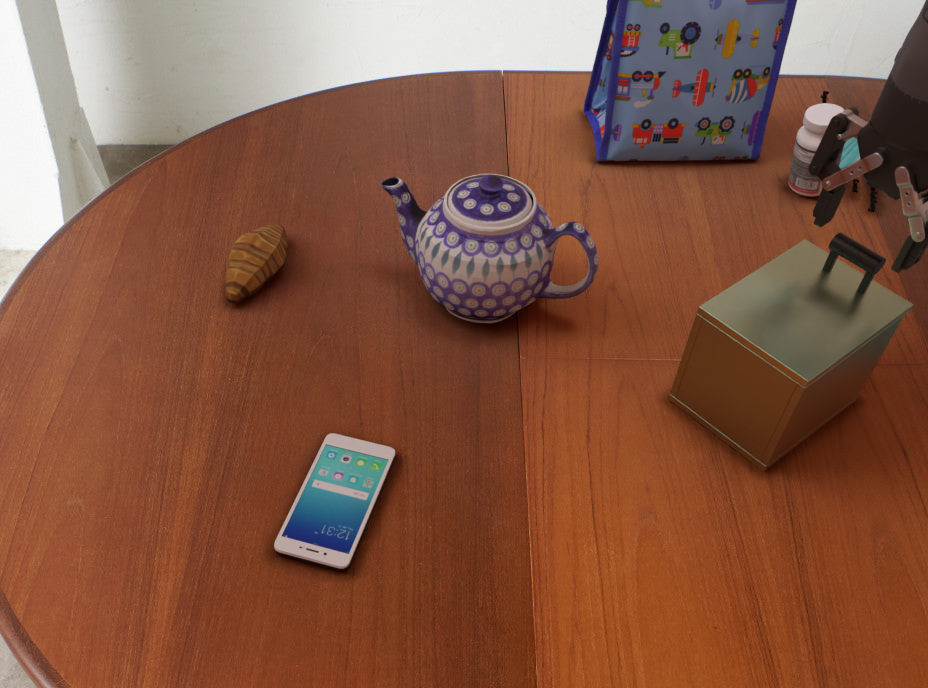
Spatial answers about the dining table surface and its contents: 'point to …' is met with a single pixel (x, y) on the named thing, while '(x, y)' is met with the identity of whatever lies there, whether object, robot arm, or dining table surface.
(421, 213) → the teapot
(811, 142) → the pill bottle
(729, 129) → the lunch bag
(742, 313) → the bin lid
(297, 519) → the smartphone
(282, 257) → the croissant
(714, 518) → the dining table surface
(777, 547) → the dining table surface
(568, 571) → the dining table surface
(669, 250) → the dining table surface
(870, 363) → the waste bin
